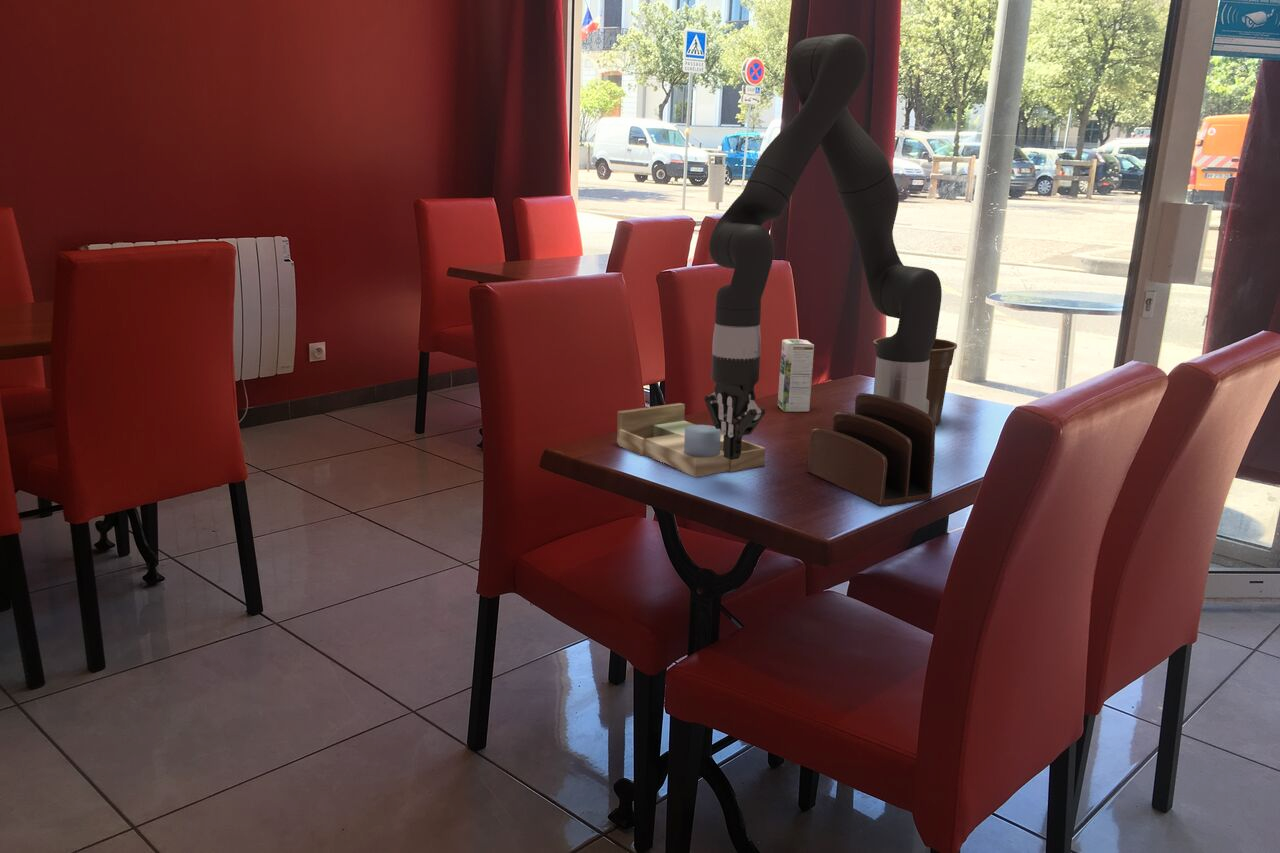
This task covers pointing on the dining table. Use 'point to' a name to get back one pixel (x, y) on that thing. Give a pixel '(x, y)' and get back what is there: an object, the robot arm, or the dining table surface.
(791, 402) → the syrup box
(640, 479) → the dining table surface
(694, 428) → the grey rounded block
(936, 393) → the plant pot
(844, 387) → the dining table surface
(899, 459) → the letter holder
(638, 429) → the tray
